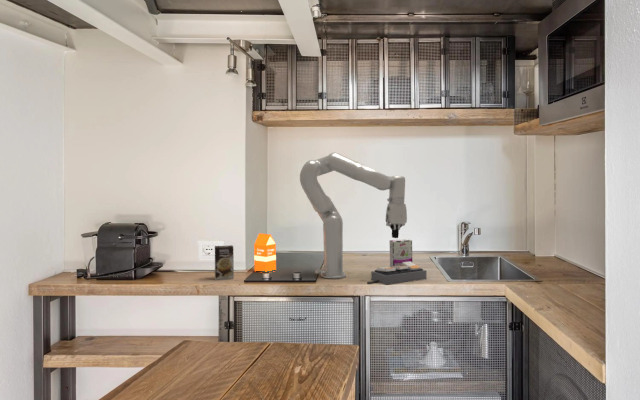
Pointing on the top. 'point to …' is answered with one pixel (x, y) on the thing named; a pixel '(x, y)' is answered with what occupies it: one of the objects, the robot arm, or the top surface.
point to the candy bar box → (400, 252)
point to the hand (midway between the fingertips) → (395, 237)
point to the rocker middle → (400, 267)
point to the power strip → (397, 276)
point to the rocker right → (411, 265)
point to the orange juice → (265, 253)
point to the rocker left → (386, 269)
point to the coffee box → (224, 262)
